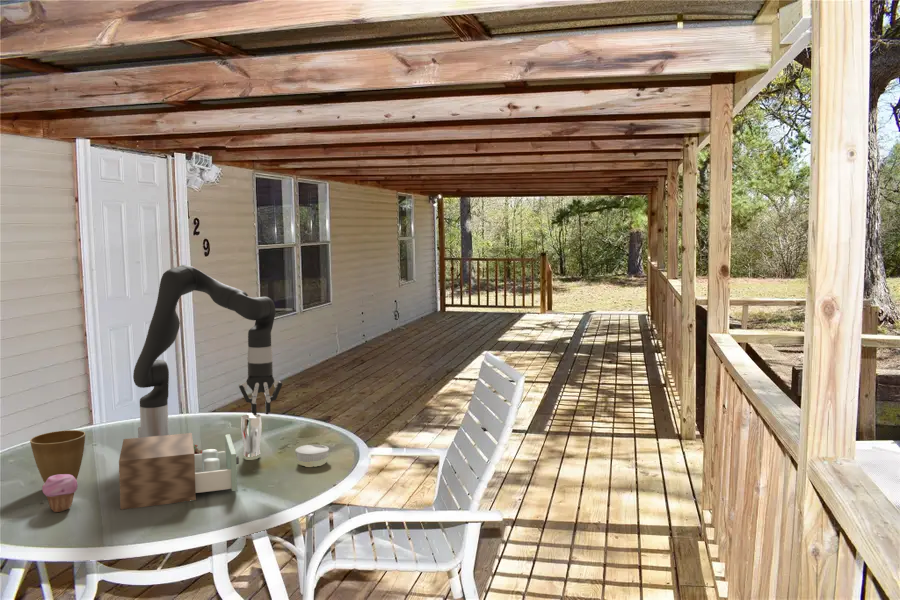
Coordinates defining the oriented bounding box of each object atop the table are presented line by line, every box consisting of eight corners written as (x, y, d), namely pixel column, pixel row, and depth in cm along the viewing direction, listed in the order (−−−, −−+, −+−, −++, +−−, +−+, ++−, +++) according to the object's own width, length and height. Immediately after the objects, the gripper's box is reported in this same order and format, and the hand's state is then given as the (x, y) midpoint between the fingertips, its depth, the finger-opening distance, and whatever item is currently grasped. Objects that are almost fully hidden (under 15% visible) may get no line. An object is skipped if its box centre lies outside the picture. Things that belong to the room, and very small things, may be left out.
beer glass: (265, 455, 251) (264, 413, 250) (258, 461, 245) (257, 418, 243) (246, 454, 252) (245, 413, 251) (238, 460, 245) (237, 418, 244)
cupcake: (39, 508, 201) (37, 474, 200) (72, 501, 207) (71, 467, 206) (48, 517, 194) (47, 482, 194) (83, 509, 201) (81, 474, 200)
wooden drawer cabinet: (192, 475, 230) (191, 432, 229) (195, 500, 208) (194, 453, 207) (125, 482, 223) (123, 439, 221) (120, 509, 200) (118, 461, 199)
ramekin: (334, 460, 246) (334, 445, 246) (320, 470, 236) (320, 454, 235) (305, 457, 249) (305, 443, 249) (289, 467, 239) (289, 452, 238)
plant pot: (74, 475, 229) (72, 427, 228) (96, 486, 220) (94, 435, 218) (24, 488, 218) (21, 437, 216) (44, 499, 208) (41, 446, 207)
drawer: (235, 467, 234) (234, 433, 233) (242, 489, 213) (241, 453, 212) (166, 474, 226) (165, 440, 226) (166, 499, 205) (164, 461, 204)
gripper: (237, 363, 217) (239, 419, 219) (284, 361, 222) (285, 415, 224) (235, 359, 224) (236, 413, 226) (280, 357, 229) (281, 409, 231)
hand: (261, 414), depth 225 cm, fingers open, 3 cm apart
